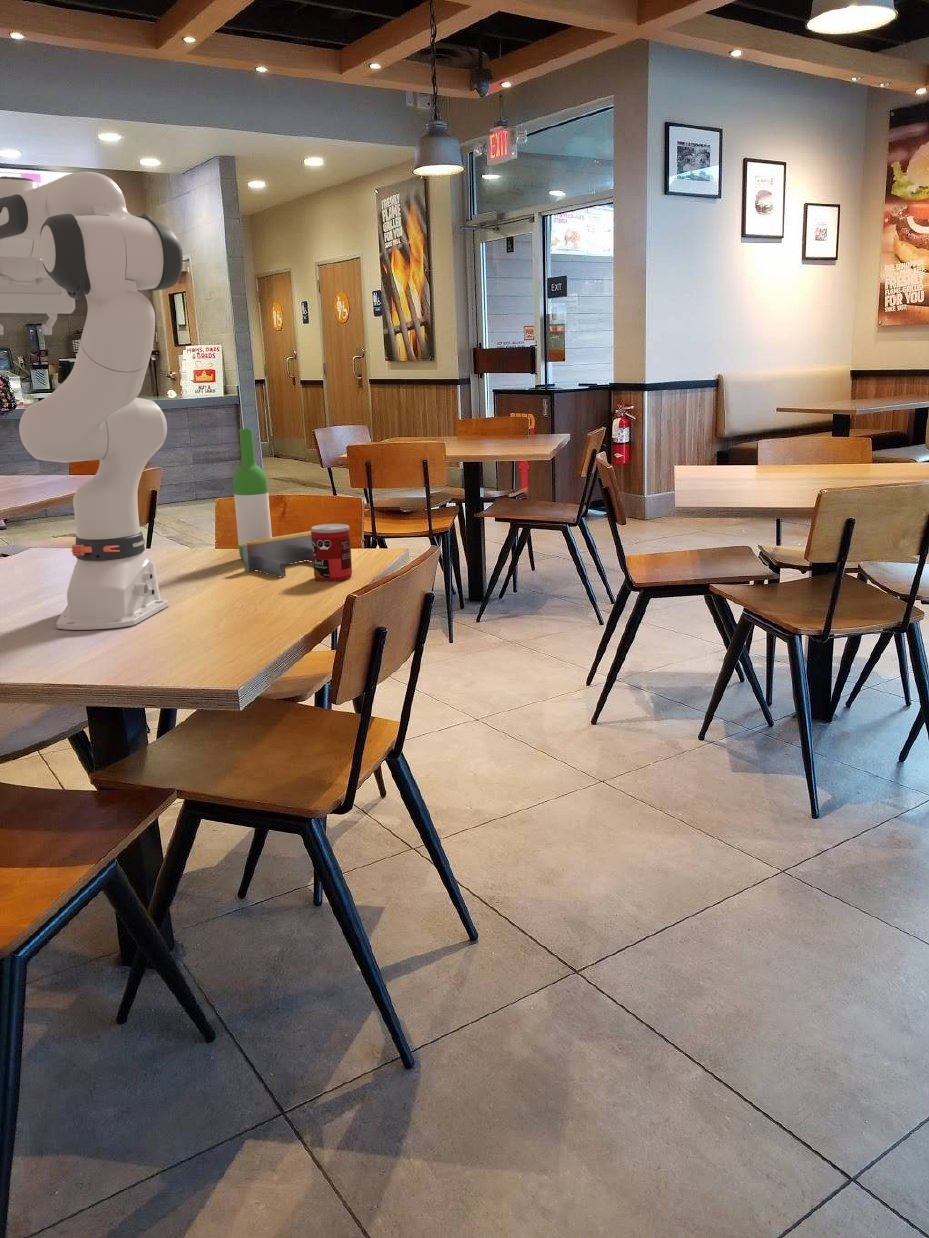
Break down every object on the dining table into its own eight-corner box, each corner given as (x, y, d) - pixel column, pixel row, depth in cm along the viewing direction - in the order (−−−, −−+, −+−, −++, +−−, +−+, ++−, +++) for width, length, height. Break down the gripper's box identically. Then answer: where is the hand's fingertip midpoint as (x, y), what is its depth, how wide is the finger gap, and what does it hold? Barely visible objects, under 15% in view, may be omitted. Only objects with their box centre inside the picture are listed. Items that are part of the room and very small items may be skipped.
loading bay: (343, 565, 214) (341, 536, 213) (273, 578, 203) (271, 548, 201) (312, 558, 223) (310, 530, 221) (244, 571, 211) (242, 542, 209)
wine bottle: (257, 554, 230) (246, 427, 222) (280, 557, 225) (270, 428, 217) (232, 560, 223) (220, 430, 216) (256, 563, 219) (244, 430, 211)
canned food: (310, 576, 204) (306, 525, 201) (345, 572, 207) (342, 522, 204) (320, 583, 197) (316, 531, 194) (357, 579, 200) (354, 527, 197)
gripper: (-33, 266, 181) (-28, 339, 188) (77, 270, 193) (78, 338, 200) (-42, 258, 185) (-37, 329, 191) (66, 262, 197) (68, 329, 204)
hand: (23, 334), depth 196 cm, fingers open, 8 cm apart
